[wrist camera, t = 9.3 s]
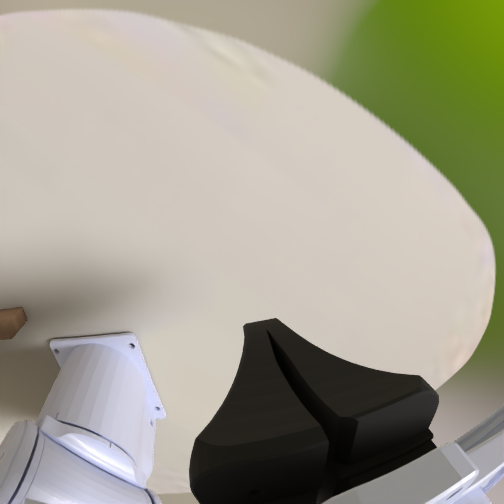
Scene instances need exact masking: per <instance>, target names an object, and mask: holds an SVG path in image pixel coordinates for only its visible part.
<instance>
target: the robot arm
mask: <svg viewBox="0 0 504 504" xmlns="http://www.w3.org/2000/svg"><path fill="white" fill-rule="evenodd" d="M243 329H244V336H245V337H244V346H243V352H242V357H241V361H240V364H239V368H238V371H237V374H236V377H235V379H234V382H233V384H232V386H231V388H230V390H229V393H228V395H227V397H226V398H225V400H224V402H223V404H222V405H221V407H220V408H219V410H218V411H217V413H216V414H215V416H214V417H213V419H212V420H211V421H210V423H209V424H208V425H207V426H206V427H205V428H204V430H203V431H202V432H201V433H200V434H199V435H198V436H197V438H196V439H195V442H194V446H193V450H192V454H191V459H190V468H189V478H190V488H191V491H192V493H193V495H194V496H195V498H196V499H197V500H198V502H199V503H200V504H492V503H491V502H490V500H489V499H488V497H487V496H486V495H485V493H486V492H487V491H489V490H490V489H491V488H492V487H493V486H494V485H495V484H497V482H499V481H500V480H501V479H502V478H503V477H504V404H503V405H502V406H501V407H500V408H499V409H497V410H496V411H495V412H494V413H492V414H491V415H490V416H489V417H487V418H486V419H485V420H484V421H482V422H481V423H480V424H478V425H477V426H476V427H474V428H473V429H471V430H470V431H469V432H467V433H466V434H464V435H463V436H461V437H460V438H458V439H457V440H455V441H454V442H451V443H446V444H444V445H442V446H440V447H438V448H437V447H436V445H435V444H434V443H433V442H432V440H431V439H433V433H432V432H431V431H430V430H429V426H430V424H431V421H432V419H433V417H434V415H435V413H436V410H437V407H438V404H439V396H438V394H437V393H436V391H435V390H434V389H433V388H432V387H431V386H430V385H429V384H428V383H427V382H426V381H425V380H424V379H423V378H422V377H421V376H419V375H408V374H397V373H390V372H385V371H380V370H375V369H371V368H367V367H364V366H361V365H357V364H354V363H351V362H349V361H346V360H343V359H341V358H339V357H336V356H334V355H332V354H330V353H328V352H326V351H324V350H322V349H320V348H318V347H317V346H315V345H313V344H312V343H310V342H308V341H307V340H305V339H304V338H302V337H301V336H299V335H298V334H297V333H295V332H294V331H293V330H291V329H290V328H289V327H287V326H286V325H285V324H283V323H282V322H281V321H280V320H278V319H277V318H274V319H269V320H263V321H258V322H253V323H247V324H245V325H244V326H243ZM130 343H133V344H134V345H135V346H131V345H130ZM49 345H50V348H51V350H52V352H53V354H54V357H55V359H56V361H57V363H58V365H59V367H60V369H61V370H60V372H59V374H58V376H57V378H56V380H55V382H54V384H53V386H52V388H51V390H50V392H49V394H48V396H47V398H46V401H45V403H44V405H43V407H42V409H41V412H40V414H39V416H38V418H37V421H36V423H35V424H34V423H33V422H32V421H31V420H29V419H27V420H25V421H17V422H15V423H14V425H13V426H12V427H11V428H10V430H9V431H8V433H7V434H6V436H5V438H4V440H3V441H2V443H1V445H0V504H162V502H161V500H160V498H159V497H158V495H157V494H155V493H154V492H153V491H152V490H150V489H147V488H146V480H147V479H148V478H149V476H150V474H151V473H152V470H153V461H154V441H155V426H156V419H164V418H166V412H165V409H164V407H163V405H162V403H161V400H160V398H159V395H158V393H157V391H156V388H155V386H154V383H153V381H152V378H151V376H150V373H149V370H148V368H147V365H146V362H145V360H144V357H143V354H142V351H141V349H140V346H139V343H138V340H137V337H136V335H134V334H133V333H120V334H111V335H101V336H90V337H78V338H65V339H53V340H51V341H50V343H49ZM56 349H57V350H58V351H59V352H58V351H57V350H56ZM157 407H159V408H157Z"/></svg>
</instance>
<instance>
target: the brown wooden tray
mask: <svg viewBox="0 0 504 504" xmlns="http://www.w3.org/2000/svg"><path fill="white" fill-rule="evenodd" d="M26 321H27V319H26V316H25V314H24V311H23V308H22V307H21V308H12V309H3V310H0V340H3V339H12V338H13V337H14V336H15V334H16V333H17V332H18V331H19V330H20V328H21V327H22V326H23V325H24V324H25V322H26Z"/></svg>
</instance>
